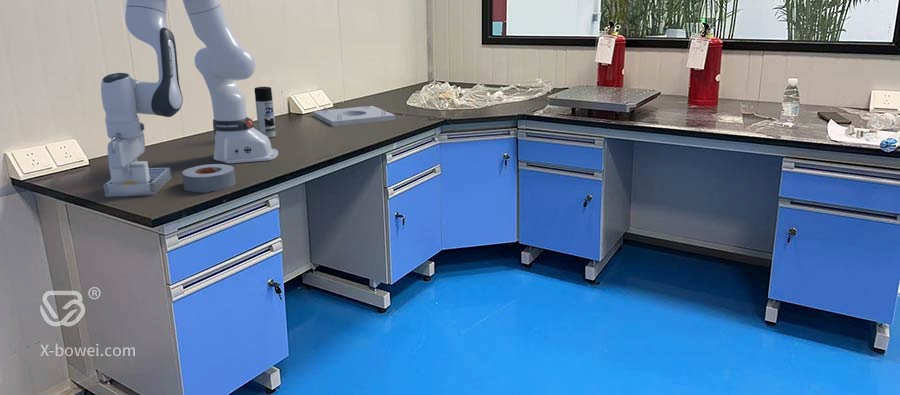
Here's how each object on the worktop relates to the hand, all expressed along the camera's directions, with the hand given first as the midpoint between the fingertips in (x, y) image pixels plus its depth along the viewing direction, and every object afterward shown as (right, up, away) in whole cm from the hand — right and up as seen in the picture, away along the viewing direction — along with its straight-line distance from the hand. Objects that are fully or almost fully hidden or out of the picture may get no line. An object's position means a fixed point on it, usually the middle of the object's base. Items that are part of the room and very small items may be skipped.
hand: (130, 175), depth 199 cm
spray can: (+21, +18, +72) cm, 77 cm away
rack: (0, -3, +7) cm, 8 cm away
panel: (0, -2, +1) cm, 2 cm away
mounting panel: (+51, +30, +109) cm, 124 cm away
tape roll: (+21, -3, +9) cm, 23 cm away
